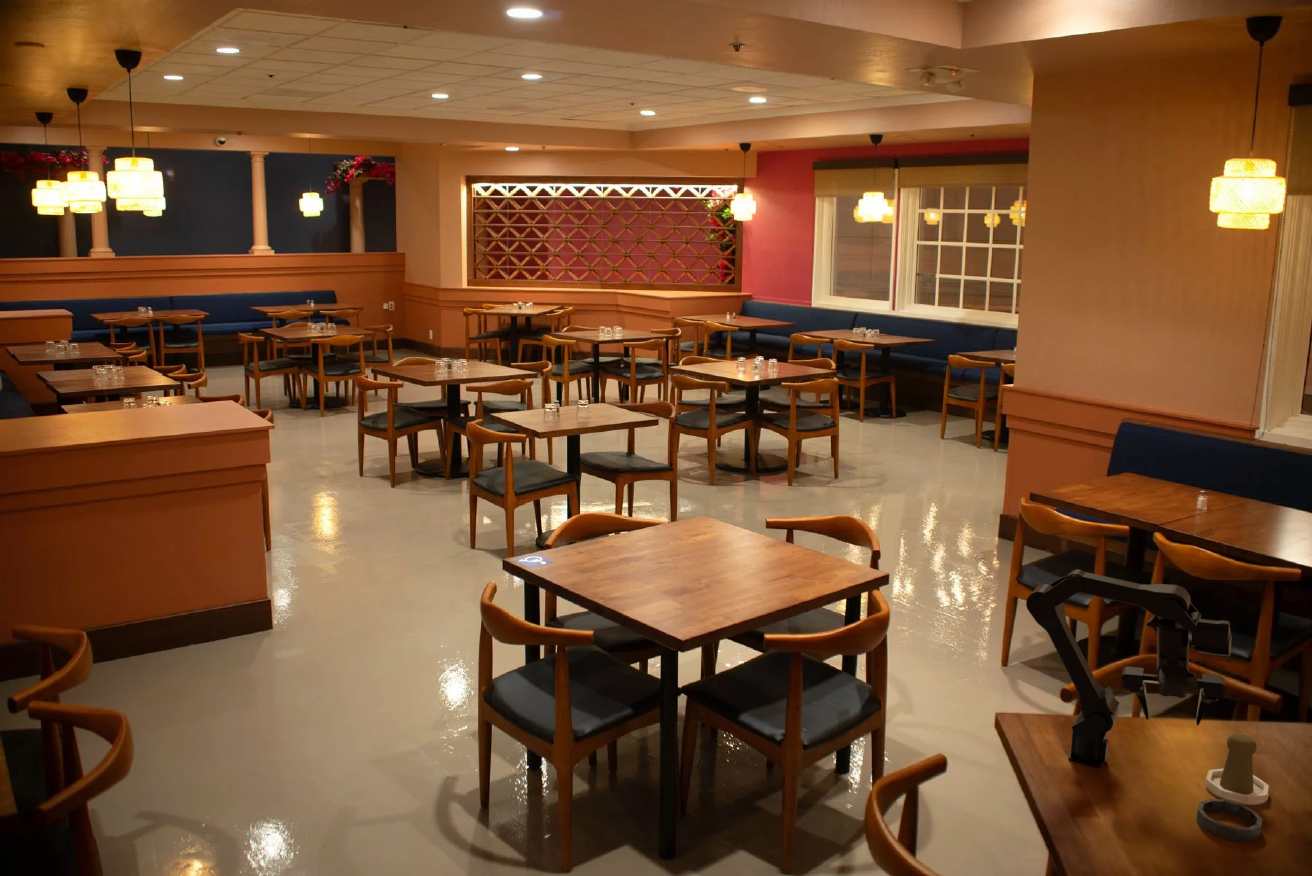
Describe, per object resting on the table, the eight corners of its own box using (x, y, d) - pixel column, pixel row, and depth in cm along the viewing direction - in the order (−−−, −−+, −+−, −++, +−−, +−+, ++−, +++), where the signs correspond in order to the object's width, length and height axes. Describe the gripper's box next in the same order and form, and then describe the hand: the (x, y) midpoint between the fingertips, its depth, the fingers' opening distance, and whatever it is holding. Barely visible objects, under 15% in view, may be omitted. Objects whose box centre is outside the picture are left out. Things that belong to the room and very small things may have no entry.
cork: (1260, 791, 210) (1267, 741, 208) (1237, 796, 208) (1243, 745, 206) (1235, 777, 216) (1241, 727, 213) (1212, 781, 214) (1218, 731, 212)
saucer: (1202, 794, 210) (1202, 786, 210) (1208, 770, 220) (1209, 762, 219) (1266, 811, 204) (1267, 802, 204) (1270, 786, 214) (1271, 778, 213)
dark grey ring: (1193, 830, 198) (1195, 818, 197) (1200, 804, 207) (1202, 793, 206) (1257, 848, 192) (1259, 836, 192) (1262, 821, 201) (1263, 809, 200)
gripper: (1120, 657, 209) (1120, 731, 211) (1227, 667, 200) (1226, 744, 203) (1123, 639, 218) (1122, 710, 221) (1224, 647, 210) (1223, 721, 213)
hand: (1172, 721), depth 214 cm, fingers open, 9 cm apart
